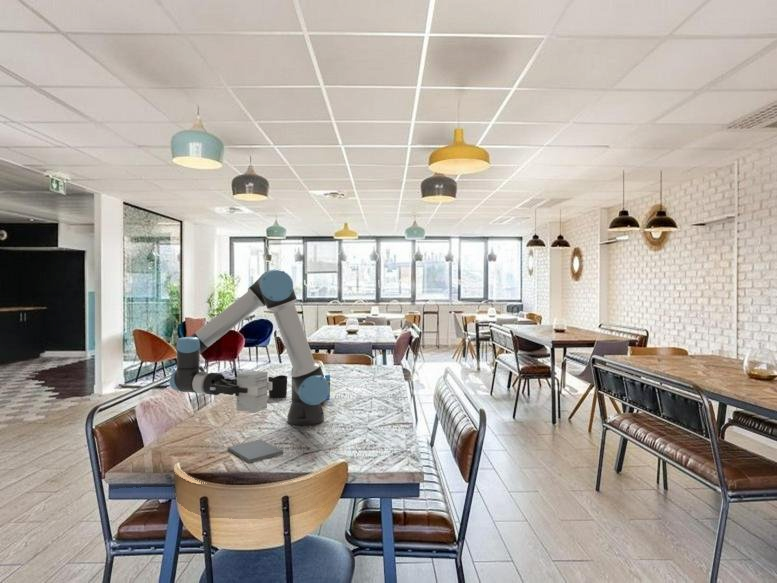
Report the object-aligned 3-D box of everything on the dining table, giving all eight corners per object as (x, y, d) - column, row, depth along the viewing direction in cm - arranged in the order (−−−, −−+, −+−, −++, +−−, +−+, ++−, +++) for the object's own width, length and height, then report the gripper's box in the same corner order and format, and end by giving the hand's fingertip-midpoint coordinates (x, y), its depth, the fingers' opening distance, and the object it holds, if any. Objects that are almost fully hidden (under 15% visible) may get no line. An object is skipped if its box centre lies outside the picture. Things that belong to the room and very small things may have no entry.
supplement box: (235, 411, 155) (235, 373, 154) (250, 406, 161) (250, 369, 161) (254, 413, 152) (254, 374, 152) (268, 408, 159) (268, 371, 159)
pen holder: (284, 398, 232) (284, 378, 232) (266, 398, 232) (266, 378, 232) (289, 394, 242) (289, 375, 242) (271, 394, 242) (271, 375, 242)
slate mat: (227, 449, 159) (227, 446, 159) (260, 441, 167) (260, 439, 167) (249, 462, 147) (249, 459, 147) (283, 453, 156) (283, 450, 156)
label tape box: (324, 397, 235) (324, 373, 234) (330, 399, 232) (330, 374, 232) (311, 401, 228) (311, 376, 228) (317, 402, 225) (317, 377, 225)
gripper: (229, 388, 172) (281, 393, 164) (187, 400, 154) (244, 407, 145) (229, 368, 172) (281, 372, 164) (187, 377, 153) (244, 383, 145)
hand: (264, 388), depth 155 cm, fingers closed on supplement box, 7 cm apart
